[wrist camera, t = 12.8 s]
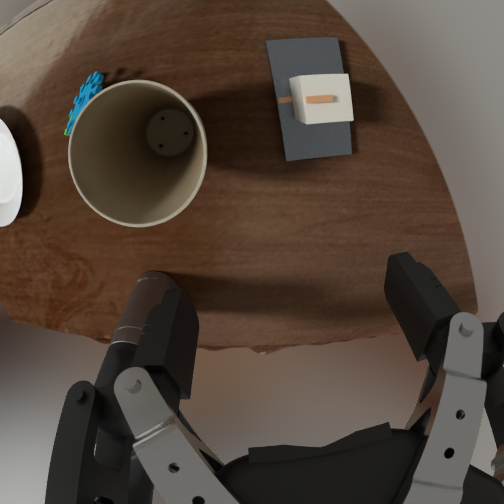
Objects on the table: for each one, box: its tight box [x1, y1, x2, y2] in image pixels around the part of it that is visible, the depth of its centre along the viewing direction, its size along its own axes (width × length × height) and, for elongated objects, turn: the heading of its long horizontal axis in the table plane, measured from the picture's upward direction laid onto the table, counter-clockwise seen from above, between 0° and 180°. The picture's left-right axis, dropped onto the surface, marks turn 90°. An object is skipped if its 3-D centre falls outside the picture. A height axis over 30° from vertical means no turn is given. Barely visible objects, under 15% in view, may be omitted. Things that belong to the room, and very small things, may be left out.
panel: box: [265, 38, 352, 161], centre depth 31 cm, size 18×10×6 cm, turn 10°
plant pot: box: [68, 80, 207, 227], centre depth 29 cm, size 15×15×16 cm
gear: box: [64, 71, 104, 136], centre depth 30 cm, size 11×6×10 cm
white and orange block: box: [289, 74, 354, 124], centre depth 29 cm, size 6×6×7 cm
